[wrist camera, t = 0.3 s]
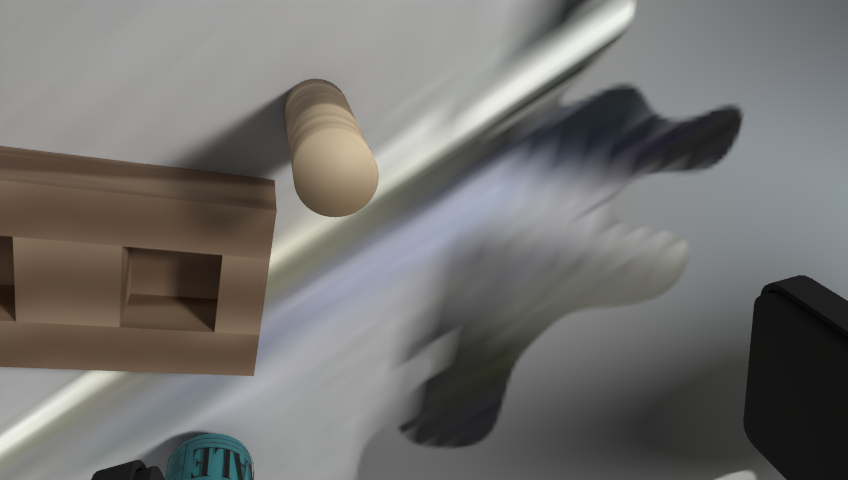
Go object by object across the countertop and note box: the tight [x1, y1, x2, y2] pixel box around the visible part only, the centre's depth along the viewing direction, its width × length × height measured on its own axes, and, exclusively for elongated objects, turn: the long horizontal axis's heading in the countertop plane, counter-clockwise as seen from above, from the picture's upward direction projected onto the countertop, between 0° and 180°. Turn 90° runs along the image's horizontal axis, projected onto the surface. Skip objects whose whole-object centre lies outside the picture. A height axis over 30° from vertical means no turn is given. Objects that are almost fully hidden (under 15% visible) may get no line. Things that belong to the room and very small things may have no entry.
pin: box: [284, 79, 379, 217], centre depth 36 cm, size 4×4×12 cm
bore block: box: [0, 146, 277, 376], centre depth 40 cm, size 12×22×5 cm, turn 77°
